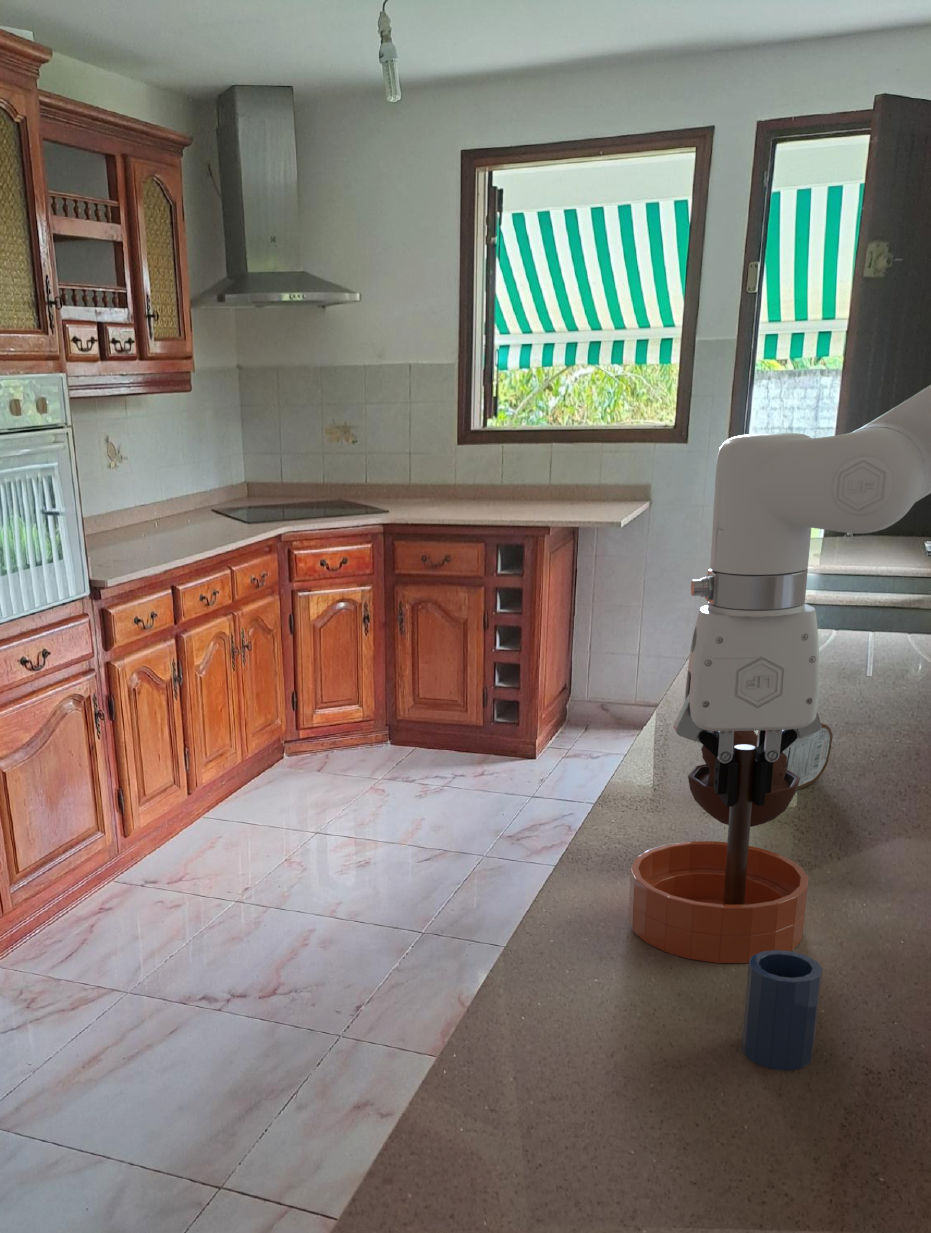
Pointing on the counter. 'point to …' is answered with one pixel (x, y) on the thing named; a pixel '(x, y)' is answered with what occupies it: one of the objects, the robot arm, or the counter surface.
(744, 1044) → the utensil pot
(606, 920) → the counter surface
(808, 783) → the tin
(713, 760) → the ice cream bowl
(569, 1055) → the counter surface
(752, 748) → the stirring stick
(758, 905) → the mixing bowl
